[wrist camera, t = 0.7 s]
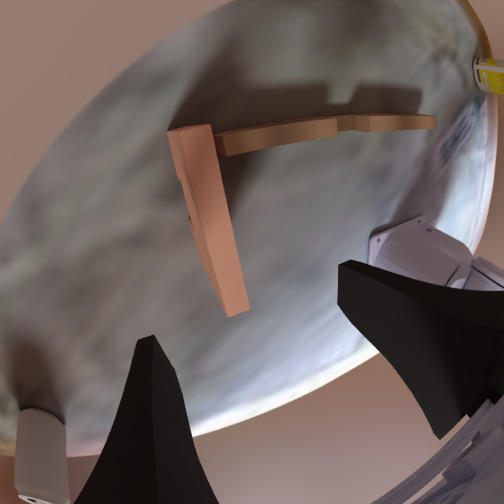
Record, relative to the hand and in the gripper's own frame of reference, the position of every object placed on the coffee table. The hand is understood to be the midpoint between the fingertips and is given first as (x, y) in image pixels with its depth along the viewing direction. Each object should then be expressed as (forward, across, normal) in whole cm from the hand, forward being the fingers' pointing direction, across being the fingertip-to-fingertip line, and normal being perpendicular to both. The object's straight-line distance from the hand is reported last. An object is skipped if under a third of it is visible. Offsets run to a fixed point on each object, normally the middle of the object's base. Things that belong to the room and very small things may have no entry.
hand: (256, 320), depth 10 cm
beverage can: (+11, +26, +16) cm, 32 cm away
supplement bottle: (+11, -43, -13) cm, 46 cm away
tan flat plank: (+10, 0, -2) cm, 11 cm away
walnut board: (+10, -12, -5) cm, 17 cm away
